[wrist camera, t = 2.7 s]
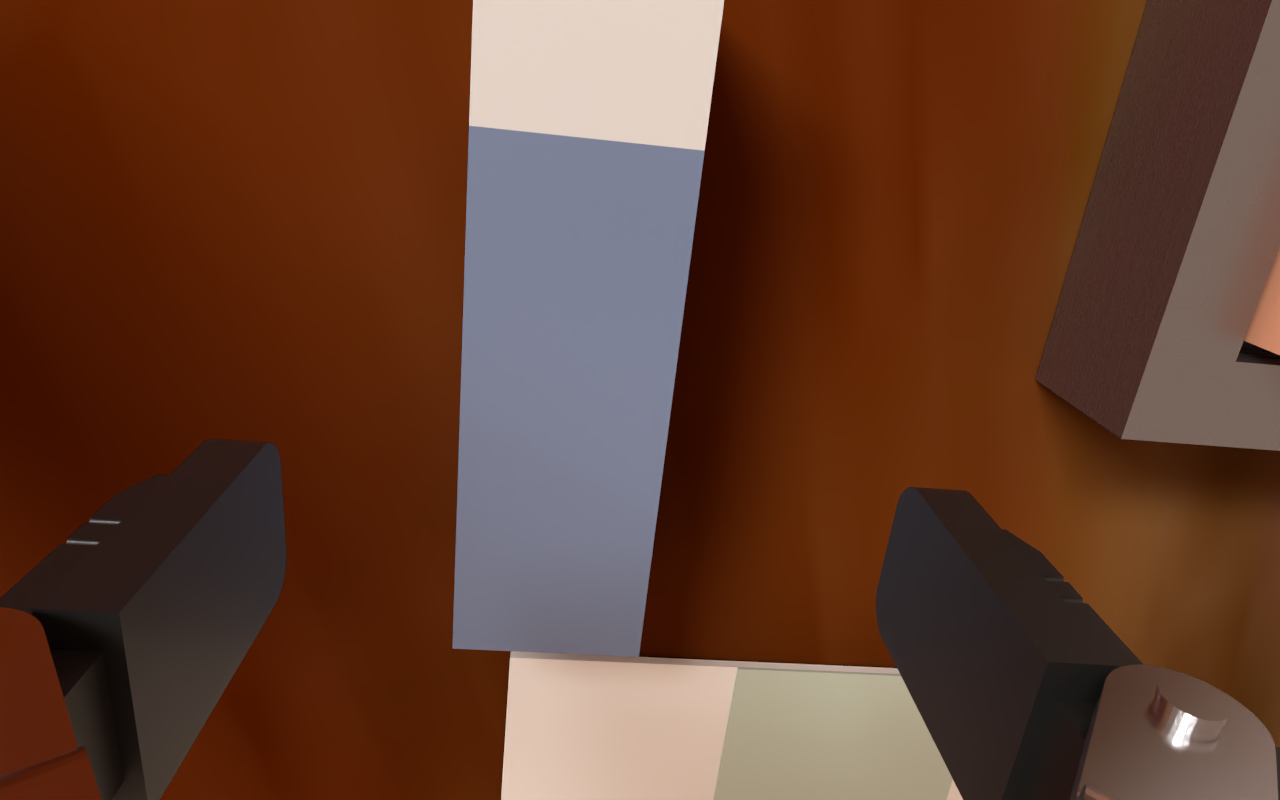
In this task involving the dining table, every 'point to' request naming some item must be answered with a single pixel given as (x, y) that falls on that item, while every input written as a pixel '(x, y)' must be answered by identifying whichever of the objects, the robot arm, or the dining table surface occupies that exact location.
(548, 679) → the paper sheet
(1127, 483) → the dining table surface
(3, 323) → the dining table surface
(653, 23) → the eraser
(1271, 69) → the button housing
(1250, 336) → the button cap
